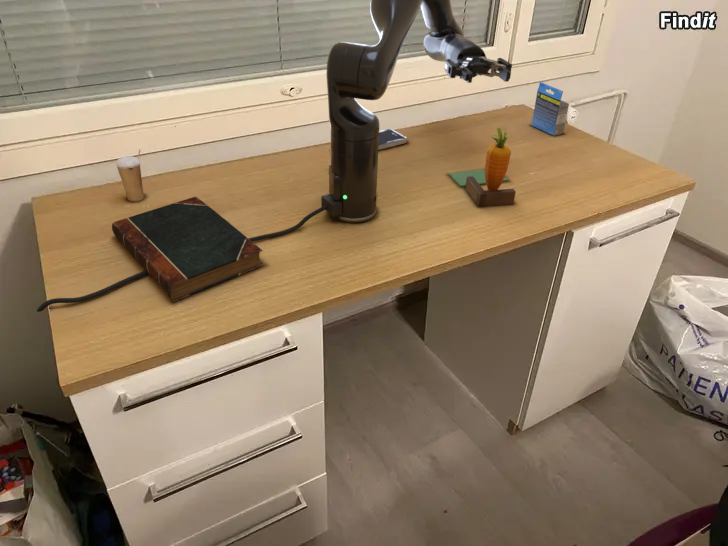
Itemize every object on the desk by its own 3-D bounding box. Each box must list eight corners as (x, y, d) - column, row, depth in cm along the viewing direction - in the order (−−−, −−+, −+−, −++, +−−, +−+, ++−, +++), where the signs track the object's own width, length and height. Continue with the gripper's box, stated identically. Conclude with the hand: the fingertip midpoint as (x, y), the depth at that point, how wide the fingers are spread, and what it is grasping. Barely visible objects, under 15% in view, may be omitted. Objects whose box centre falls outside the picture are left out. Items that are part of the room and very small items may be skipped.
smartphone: (342, 139, 148) (390, 128, 155) (342, 144, 149) (390, 133, 156) (358, 150, 143) (407, 138, 150) (358, 155, 144) (407, 143, 151)
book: (264, 266, 104) (199, 211, 120) (263, 249, 102) (196, 195, 118) (172, 303, 95) (114, 238, 110) (168, 285, 93) (110, 222, 108)
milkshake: (154, 196, 124) (145, 152, 118) (131, 205, 121) (121, 160, 115) (143, 189, 126) (134, 146, 121) (120, 197, 123) (109, 153, 117)
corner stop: (478, 206, 124) (480, 194, 122) (465, 188, 131) (466, 176, 129) (513, 204, 126) (515, 191, 124) (498, 186, 132) (500, 174, 130)
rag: (460, 187, 131) (460, 185, 131) (448, 175, 136) (449, 173, 136) (508, 181, 134) (508, 179, 134) (495, 169, 139) (495, 168, 139)
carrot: (503, 201, 126) (515, 135, 118) (479, 198, 127) (490, 132, 118) (503, 190, 130) (514, 126, 122) (480, 188, 131) (490, 124, 122)
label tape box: (563, 134, 159) (574, 88, 152) (552, 136, 157) (562, 91, 150) (540, 123, 165) (549, 79, 158) (529, 125, 163) (538, 81, 156)
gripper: (437, 41, 136) (460, 60, 123) (495, 40, 138) (523, 58, 125) (434, 74, 140) (456, 96, 127) (490, 72, 143) (517, 93, 130)
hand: (489, 77), depth 126 cm, fingers open, 8 cm apart
